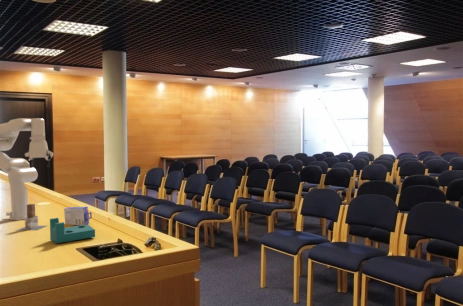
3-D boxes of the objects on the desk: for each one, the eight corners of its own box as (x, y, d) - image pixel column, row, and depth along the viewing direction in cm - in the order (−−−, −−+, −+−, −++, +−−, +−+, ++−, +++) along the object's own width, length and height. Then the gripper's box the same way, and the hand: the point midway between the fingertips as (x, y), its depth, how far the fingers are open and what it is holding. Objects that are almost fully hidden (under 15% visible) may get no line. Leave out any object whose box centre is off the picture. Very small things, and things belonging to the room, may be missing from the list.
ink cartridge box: (70, 223, 251) (93, 223, 248) (64, 225, 245) (88, 226, 242) (69, 206, 250) (92, 206, 247) (63, 208, 244) (86, 208, 241)
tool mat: (15, 231, 232) (15, 230, 232) (27, 226, 244) (27, 225, 244) (37, 231, 231) (37, 230, 231) (48, 226, 243) (48, 225, 243)
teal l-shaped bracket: (56, 246, 200) (56, 224, 199) (50, 240, 208) (49, 218, 207) (95, 239, 211) (94, 218, 209) (87, 234, 219) (87, 213, 218)
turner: (25, 229, 233) (24, 205, 233) (32, 226, 241) (31, 203, 241) (30, 229, 233) (29, 205, 233) (38, 226, 241) (36, 203, 241)
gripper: (21, 139, 258) (22, 168, 258) (49, 138, 257) (50, 167, 257) (27, 139, 265) (29, 167, 266) (55, 138, 264) (56, 166, 265)
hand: (39, 167), depth 261 cm, fingers open, 9 cm apart
